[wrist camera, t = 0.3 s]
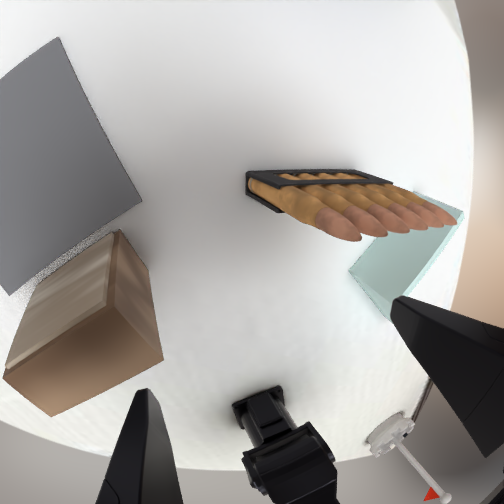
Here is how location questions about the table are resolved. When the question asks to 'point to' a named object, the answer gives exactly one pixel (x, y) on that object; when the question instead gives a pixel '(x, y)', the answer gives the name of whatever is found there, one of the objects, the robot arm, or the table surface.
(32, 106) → the mat
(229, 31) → the table surface
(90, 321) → the tan wooden block
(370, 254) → the l-shaped corner panel
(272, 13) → the table surface
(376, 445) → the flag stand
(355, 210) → the ammunition clip
